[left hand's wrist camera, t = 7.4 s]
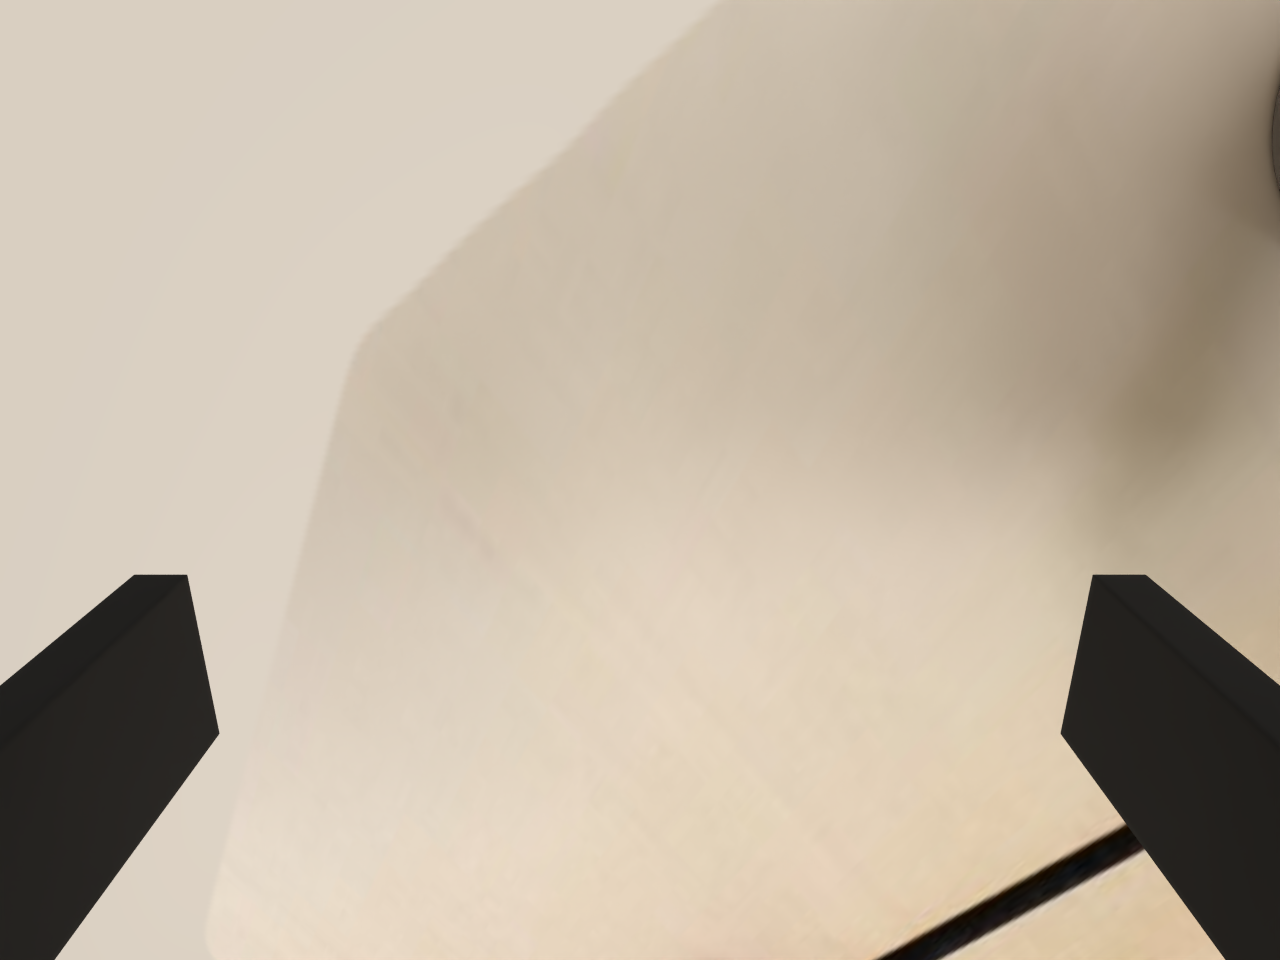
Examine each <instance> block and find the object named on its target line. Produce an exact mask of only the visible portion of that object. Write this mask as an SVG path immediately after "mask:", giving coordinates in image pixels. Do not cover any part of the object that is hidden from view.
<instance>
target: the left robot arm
mask: <svg viewBox="0 0 1280 960" xmlns="http://www.w3.org/2000/svg"><path fill="white" fill-rule="evenodd" d="M1272 147H1273V161H1274V169H1275V174H1276V179H1277V183H1278V187H1279V190H1280V88H1279V92H1278V96H1277V100H1276V106H1275V112H1274V119H1273V133H1272ZM218 735H219V729H218V724H217V719H216V714H215V709H214V705H213V700H212V695H211V690H210V685H209V680H208V675H207V670H206V665H205V660H204V655H203V651H202V645H201V640H200V636H199V631H198V626H197V621H196V616H195V611H194V606H193V601H192V596H191V591H190V586H189V581H188V576H187V575H133V576H132V577H131V578H130V579H129V580H127V581H126V582H125V583H124V584H123V585H121V586H120V587H119V588H118V589H117V590H115V591H114V592H113V593H112V594H110V595H109V596H108V597H107V598H106V599H104V600H103V601H102V602H101V603H100V604H98V605H97V606H96V607H95V608H94V609H92V610H91V611H90V612H89V613H87V614H86V615H85V616H84V617H83V618H82V619H80V620H79V621H78V622H77V623H75V624H74V625H73V626H72V627H71V628H69V629H68V630H67V631H66V632H65V633H63V634H62V635H61V636H60V637H58V638H57V639H56V640H55V641H54V642H52V643H51V644H50V645H49V646H48V647H46V648H45V649H44V650H43V651H42V652H40V653H39V654H38V655H37V656H35V657H34V658H33V659H32V660H31V661H29V662H28V663H27V664H26V665H25V666H23V667H22V668H21V669H20V670H19V671H17V672H16V673H15V674H14V675H13V676H11V677H10V678H9V679H8V680H6V681H5V682H4V683H3V684H2V685H0V960H55V958H56V957H57V956H58V954H59V953H60V952H61V950H62V949H63V947H64V946H65V945H66V943H67V942H68V941H69V939H70V938H71V936H72V935H73V934H74V932H75V931H76V930H77V928H78V927H79V925H80V924H81V923H82V921H83V920H84V919H85V917H86V916H87V914H88V913H89V912H90V910H91V909H92V908H93V906H94V905H95V903H96V902H97V901H98V899H99V898H100V897H101V895H102V894H103V893H104V891H105V890H106V888H107V887H108V886H109V884H110V883H111V882H112V880H113V879H114V877H115V876H116V875H117V873H118V872H119V871H120V869H121V868H122V867H123V865H124V864H125V862H126V861H127V860H128V858H129V857H130V856H131V854H132V853H133V851H134V850H135V849H136V847H137V846H138V845H139V843H140V842H141V840H142V839H143V838H144V836H145V835H146V834H147V832H148V831H149V829H150V828H151V827H152V825H153V824H154V823H155V821H156V820H157V819H158V817H159V816H160V814H161V813H162V812H163V810H164V809H165V808H166V806H167V805H168V803H169V802H170V801H171V799H172V798H173V796H174V795H175V794H176V792H177V791H178V790H179V788H180V787H181V786H182V784H183V783H184V781H185V780H186V779H187V777H188V776H189V775H190V773H191V772H192V770H193V769H194V768H195V766H196V765H197V764H198V762H199V761H200V759H201V758H202V757H203V755H204V754H205V753H206V751H207V750H208V749H209V747H210V746H211V744H212V743H213V742H214V740H215V739H216V738H217V736H218ZM1061 735H1062V736H1063V738H1064V739H1065V740H1066V742H1067V743H1068V744H1069V746H1070V747H1071V749H1072V750H1073V751H1074V753H1075V754H1076V755H1077V757H1078V758H1079V760H1080V761H1081V762H1082V764H1083V765H1084V766H1085V768H1086V769H1087V771H1088V772H1089V773H1090V775H1091V776H1092V777H1093V779H1094V780H1095V781H1096V783H1097V784H1098V786H1099V787H1100V788H1101V790H1102V791H1103V792H1104V794H1105V795H1106V797H1107V798H1108V799H1109V801H1110V802H1111V803H1112V805H1113V806H1114V808H1115V809H1116V810H1117V812H1118V813H1119V814H1120V816H1121V817H1122V819H1123V820H1124V821H1125V823H1126V824H1127V825H1128V827H1129V828H1130V829H1131V831H1132V832H1133V834H1134V835H1135V836H1136V838H1137V839H1138V840H1139V842H1140V843H1141V845H1142V846H1143V847H1144V849H1145V850H1146V851H1147V853H1148V854H1149V856H1150V857H1151V858H1152V860H1153V861H1154V862H1155V864H1156V865H1157V867H1158V868H1159V869H1160V871H1161V872H1162V873H1163V875H1164V876H1165V877H1166V879H1167V880H1168V882H1169V883H1170V884H1171V886H1172V887H1173V888H1174V890H1175V891H1176V893H1177V894H1178V895H1179V897H1180V898H1181V899H1182V901H1183V902H1184V904H1185V905H1186V906H1187V908H1188V909H1189V910H1190V912H1191V913H1192V915H1193V916H1194V917H1195V919H1196V920H1197V921H1198V923H1199V924H1200V925H1201V927H1202V928H1203V930H1204V931H1205V932H1206V934H1207V935H1208V936H1209V938H1210V939H1211V941H1212V942H1213V943H1214V945H1215V946H1216V947H1217V949H1218V950H1219V952H1220V953H1221V954H1222V956H1223V957H1224V958H1225V960H1280V685H1278V684H1277V683H1276V682H1275V681H1274V680H1272V679H1271V678H1270V677H1269V676H1267V675H1266V674H1265V673H1264V672H1263V671H1261V670H1260V669H1259V668H1258V667H1257V666H1255V665H1254V664H1253V663H1252V662H1251V661H1249V660H1248V659H1247V658H1246V657H1245V656H1243V655H1242V654H1241V653H1240V652H1238V651H1237V650H1236V649H1235V648H1234V647H1232V646H1231V645H1230V644H1229V643H1228V642H1226V641H1225V640H1224V639H1223V638H1222V637H1220V636H1219V635H1218V634H1217V633H1215V632H1214V631H1213V630H1212V629H1211V628H1209V627H1208V626H1207V625H1206V624H1205V623H1203V622H1202V621H1201V620H1200V619H1199V618H1197V617H1196V616H1195V615H1194V614H1193V613H1191V612H1190V611H1189V610H1188V609H1186V608H1185V607H1184V606H1183V605H1182V604H1180V603H1179V602H1178V601H1177V600H1176V599H1174V598H1173V597H1172V596H1171V595H1170V594H1168V593H1167V592H1166V591H1165V590H1163V589H1162V588H1161V587H1160V586H1159V585H1157V584H1156V583H1155V582H1154V581H1153V580H1151V579H1150V578H1149V577H1148V576H1147V575H1093V576H1092V581H1091V586H1090V591H1089V596H1088V601H1087V606H1086V611H1085V616H1084V621H1083V626H1082V631H1081V636H1080V640H1079V645H1078V650H1077V655H1076V660H1075V665H1074V670H1073V675H1072V680H1071V685H1070V690H1069V695H1068V700H1067V705H1066V709H1065V714H1064V719H1063V724H1062V729H1061Z"/></svg>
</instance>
